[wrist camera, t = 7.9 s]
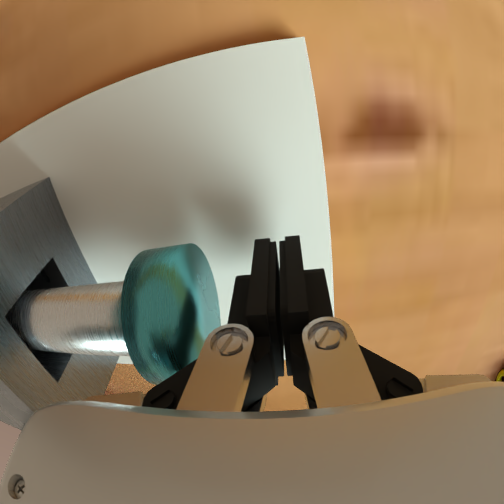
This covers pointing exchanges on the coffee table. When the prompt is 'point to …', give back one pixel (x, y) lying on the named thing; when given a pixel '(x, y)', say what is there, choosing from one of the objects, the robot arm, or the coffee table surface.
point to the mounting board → (188, 163)
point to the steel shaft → (129, 313)
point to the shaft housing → (32, 278)
